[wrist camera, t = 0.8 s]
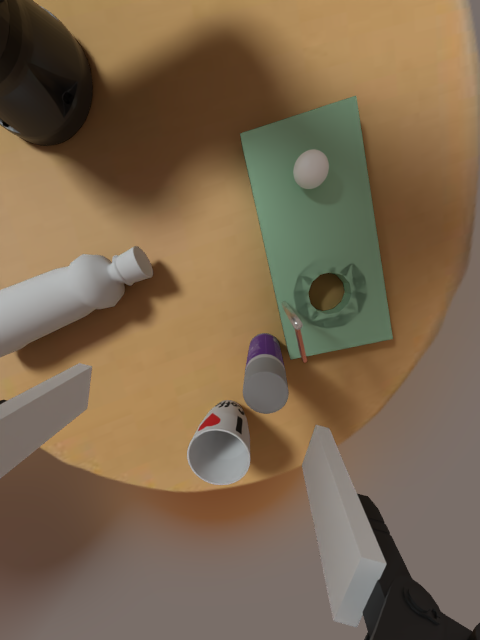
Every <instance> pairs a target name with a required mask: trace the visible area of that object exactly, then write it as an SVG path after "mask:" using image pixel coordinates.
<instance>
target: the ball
mask: <svg viewBox="0 0 480 640" xmlns="http://www.w3.org/2000/svg"><path fill="white" fill-rule="evenodd" d="M328 171H329V163H328V159H327V157H326V155H325V154H324V153H323V152H321V151H319V150H316V149H312V150H308V151H305V152H304V153H302V154H301V155H300V156H299V157H298V159H297V160H296V162H295V165H294V170H293V175H294V179H295V181H296V183H297V184H298V185H299V186H300V187H302V188H304V189H313V188H316V187H318V186H319V185H321V184H322V183H323V182H324V180H325V179H326V177H327V174H328Z"/></svg>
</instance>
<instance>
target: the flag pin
mask: <svg viewBox="0 0 480 640" xmlns="http://www.w3.org/2000/svg"><path fill="white" fill-rule="evenodd" d="M281 305H282V307H283V309H284V311H285V313H286V315H287V316H288V318H289V320H290V322H291V324H292V326H293V327H294V329H295V333H296V337H297V342H298V347H299V351H300V355H301V357H302V360H303V362H304V363H305V362H307V358H306V353H305V349H304V344H303V339H302V335H301V330H300V329H301V328H302V327H303V324H302V322H301V321H300V319H299V318H298V317H297V315H296V314H295V313H294V311H293V310H292V309H291V308H290V306H289V305H288V304H287V302H286V301H283V302H282V303H281Z"/></svg>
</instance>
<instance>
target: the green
mask: <svg viewBox="0 0 480 640" xmlns="http://www.w3.org/2000/svg"><path fill="white" fill-rule="evenodd" d="M240 136H241V142H242V148H243V152H244V157H245V161H246V165H247V170H248V174H249V179H250V183H251V188H252V192H253V197H254V201H255V206H256V210H257V215H258V219H259V224H260V228H261V233H262V237H263V242H264V246H265V251H266V255H267V259H268V264H269V268H270V273H271V277H272V282H273V286H274V291H275V295H276V300H277V304H278V309H279V313H280V318H281V322H282V327H283V331H284V336H285V340H286V344H287V349H288V353H289V357H290V360H291V359H296V358H301V355H300V351H299V347H298V342H297V337H296V333H295V329H294V327H293V326H292V324H291V322H290V320H289V318H288V316H287V315H286V313H285V311H284V309H283V307H282V305H281V303H282V302H283V301H286V302H287V304H288V305H289V306H290V308H291V309H292V310H293V311H294V313H295V314H296V315H297V317H298V318H299V319H300V321H301V322H302V324H303V327H302V328H301V329H300V330H301V335H302V339H303V344H304V349H305V353H306V356H311V355H316V354H321V353H325V352H330V351H335V350H340V349H345V348H350V347H355V346H360V345H365V344H370V343H375V342H380V341H385V340H390V339H393V336H392V330H391V323H390V316H389V310H388V303H387V297H386V290H385V283H384V277H383V270H382V263H381V257H380V250H379V244H378V237H377V230H376V224H375V217H374V211H373V204H372V197H371V191H370V184H369V177H368V171H367V164H366V158H365V151H364V144H363V138H362V131H361V125H360V118H359V111H358V105H357V98H356V96H354V97H350V98H347V99H344V100H341V101H338V102H335V103H332V104H329V105H326V106H323V107H320V108H317V109H314V110H311V111H308V112H305V113H301V114H298V115H295V116H292V117H289V118H286V119H283V120H280V121H277V122H274V123H271V124H268V125H265V126H262V127H259V128H256V129H252V130H249V131H246V132H243V133H240ZM312 149H316V150H319V151H321V152H323V153H324V154H325V155H326V157H327V159H328V163H329V171H328V174H327V177H326V179H325V180H324V182H323V183H322V184H321V185H319V186H318V187H316V188H313V189H304V188H302V187H300V186H299V185H298V184H297V183H296V181H295V179H294V175H293V170H294V165H295V162H296V160H297V159H298V157H299V156H300V155H301V154H302V153H304V152H305V151H308V150H312ZM325 273H332V274H335V275H337V276H338V277H339V279H340V280H341V281H342V282H343V286H344V291H345V293H344V295H343V298H342V301H341V302H340V303H339V304H338V305H337V306H336V307H335V308H333V309H330V310H326V311H321V310H318V309H315V308H314V307H313V306H312V305H311V304H310V299H309V294H308V292H309V289H310V286H311V283H312V282H313V281H314V280H315V279H316V278H317V277H318V276H319V275H321V274H325Z"/></svg>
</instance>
